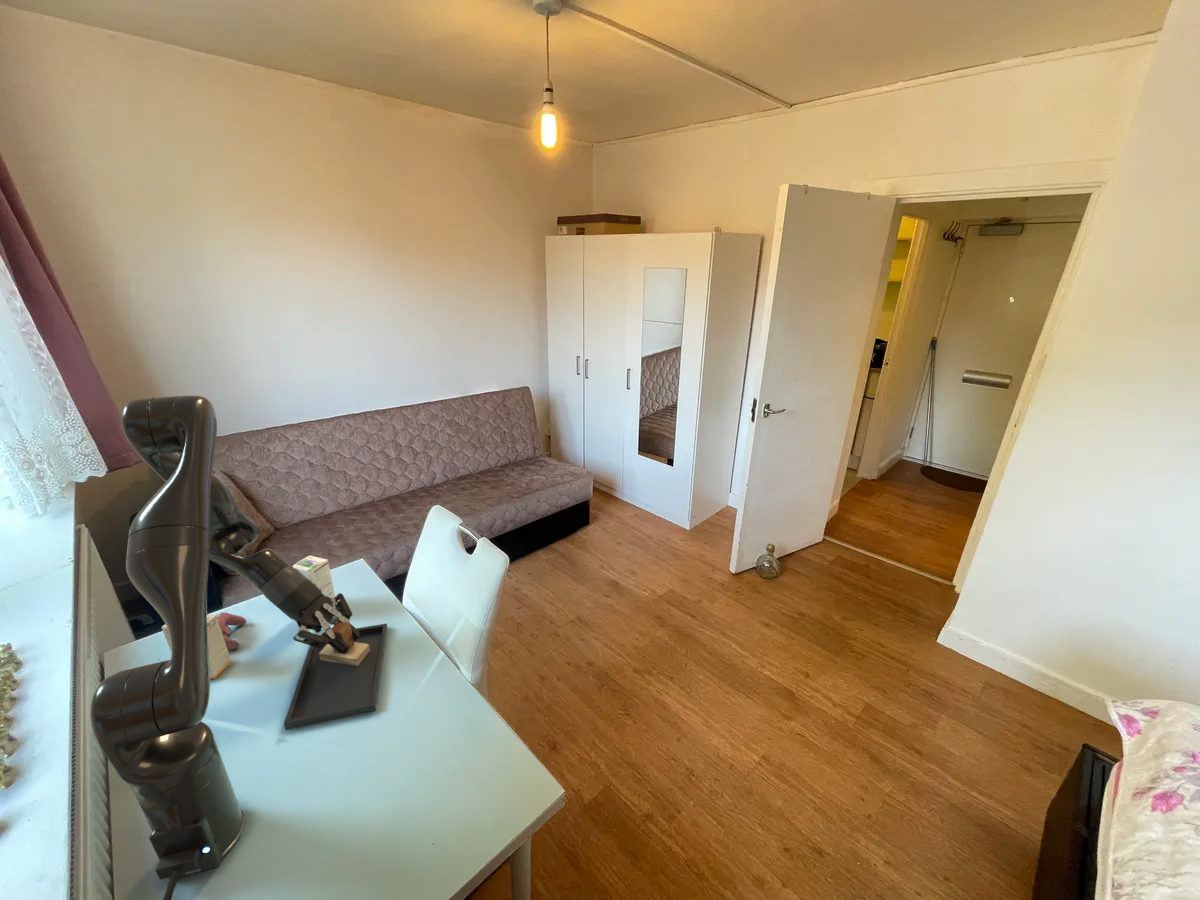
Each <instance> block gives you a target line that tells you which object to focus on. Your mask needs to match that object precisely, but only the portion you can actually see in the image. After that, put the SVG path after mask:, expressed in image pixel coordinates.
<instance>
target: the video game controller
mask: <svg viewBox="0 0 1200 900" xmlns="http://www.w3.org/2000/svg"><path fill="white" fill-rule="evenodd" d="M215 615H216V617H217V620H218V623H219V626H220V629H221V632H222V635H223V638H224V641H225V644H226V647H227V650H228V651H231V650H236V649H238V648H239V647H240V643H239V641H237V640H236V639H233V638H228V636H229V635H230V634H231V633H232V629H231V627H230V626H232V627H234V626H235V627H237V626H244V625H246V623H247V619H246V618H245V617H244V616H241V615H238V614H237V615H236V614H232V613H230V612H229V613H228V612H220V613H217V614H215Z"/></svg>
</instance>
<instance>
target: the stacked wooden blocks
mask: <svg viewBox="0 0 1200 900" xmlns="http://www.w3.org/2000/svg"><path fill="white" fill-rule="evenodd" d="M351 624H352V623H351V622H350V623H344V622H337V623H336V624H335V625H332V626H331V630H332V631H333V632H334V633H335V635H336V637H337V636H338V637H340V638H341V639H342V640H343V641H344V642H346V643H347V644H348V645H349V646H350V648H349V649H348V651H346V652H345V653H342V652H341V653H339V652H338V651H337V650H335V649H334V648H333V647H332V646H331V645H329V644H327V645H326V646H325V647H324V648H323V649H322V651H321V652H320V653H319V655H320V660H323V661H329V662H335V663H342V664H348V665H354V666H359V664H360V663H361V662H362V661H363V659H364V658H365V657H366V656H367V654H368V653H369V652H370V647H369V644H364V643H358V642H354V640H353V634H352V629H351Z"/></svg>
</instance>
